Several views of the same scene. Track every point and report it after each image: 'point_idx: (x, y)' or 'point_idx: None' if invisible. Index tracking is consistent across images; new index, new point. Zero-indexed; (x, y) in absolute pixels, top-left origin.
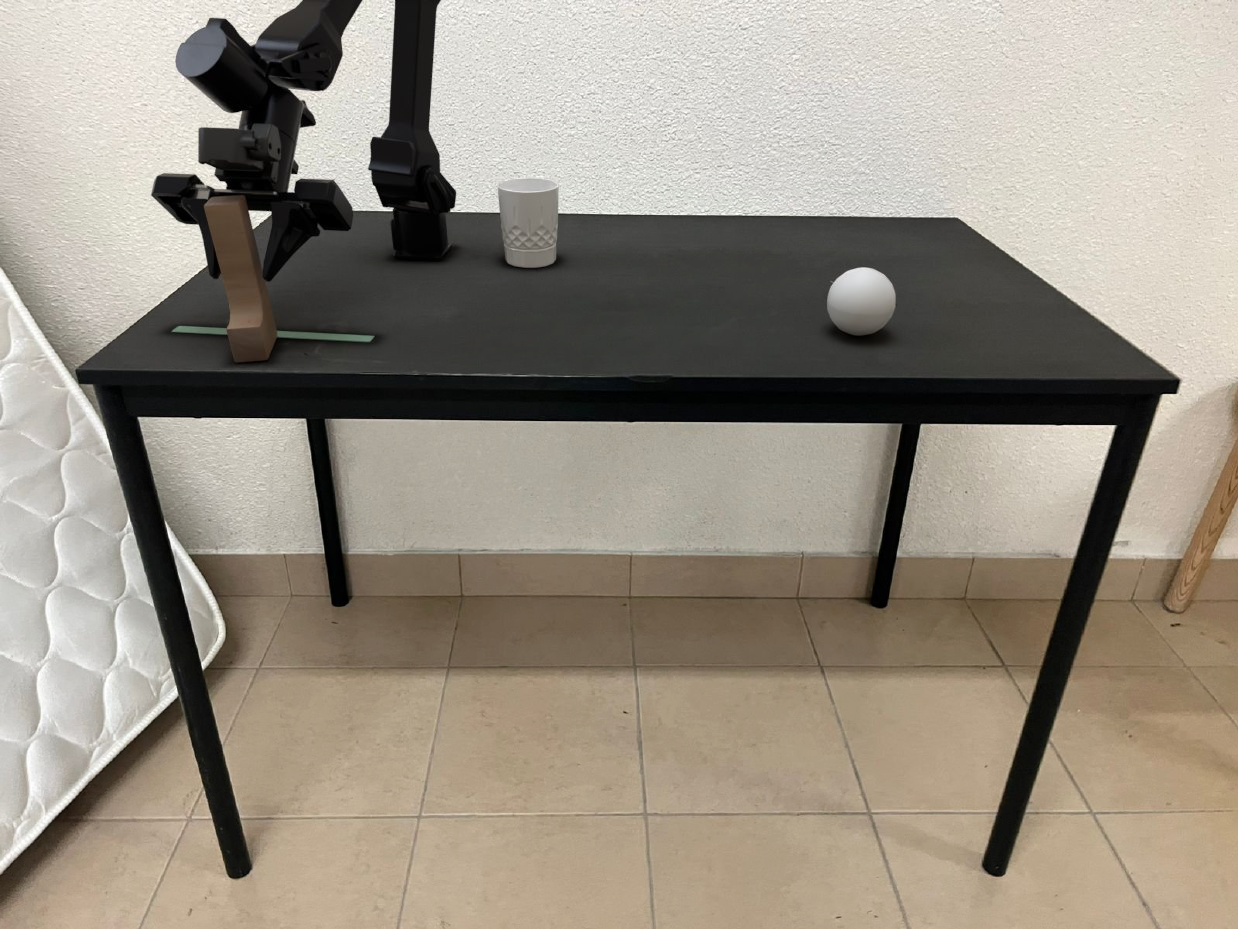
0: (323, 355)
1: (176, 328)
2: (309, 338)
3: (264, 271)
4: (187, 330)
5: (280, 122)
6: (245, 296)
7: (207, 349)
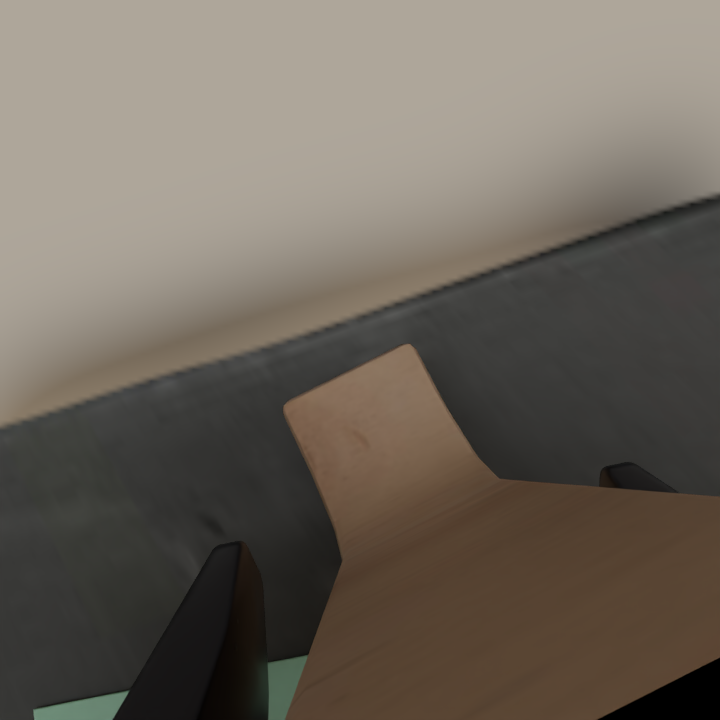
0: (147, 536)
1: None
2: (273, 661)
3: (220, 565)
4: None
5: None
6: (414, 520)
7: (587, 445)
